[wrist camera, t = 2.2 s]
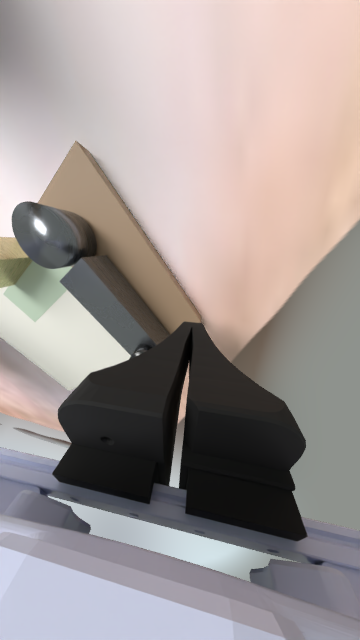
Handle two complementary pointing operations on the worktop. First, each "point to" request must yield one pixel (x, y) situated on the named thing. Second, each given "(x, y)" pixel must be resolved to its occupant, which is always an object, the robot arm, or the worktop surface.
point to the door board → (62, 307)
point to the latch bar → (87, 274)
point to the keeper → (11, 261)
